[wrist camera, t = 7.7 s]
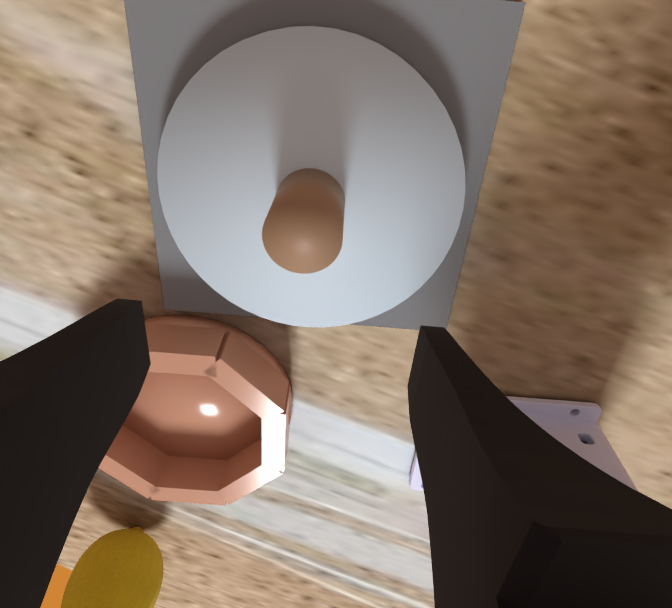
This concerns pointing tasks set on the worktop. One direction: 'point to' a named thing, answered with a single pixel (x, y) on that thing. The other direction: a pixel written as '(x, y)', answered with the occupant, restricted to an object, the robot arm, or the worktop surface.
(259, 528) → the worktop surface
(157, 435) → the bowl
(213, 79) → the lid
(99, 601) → the lemon
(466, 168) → the mat
